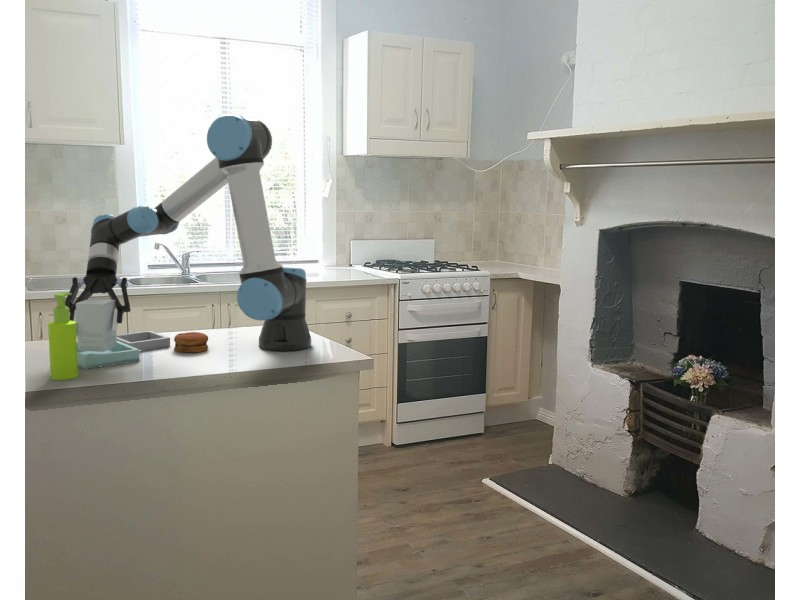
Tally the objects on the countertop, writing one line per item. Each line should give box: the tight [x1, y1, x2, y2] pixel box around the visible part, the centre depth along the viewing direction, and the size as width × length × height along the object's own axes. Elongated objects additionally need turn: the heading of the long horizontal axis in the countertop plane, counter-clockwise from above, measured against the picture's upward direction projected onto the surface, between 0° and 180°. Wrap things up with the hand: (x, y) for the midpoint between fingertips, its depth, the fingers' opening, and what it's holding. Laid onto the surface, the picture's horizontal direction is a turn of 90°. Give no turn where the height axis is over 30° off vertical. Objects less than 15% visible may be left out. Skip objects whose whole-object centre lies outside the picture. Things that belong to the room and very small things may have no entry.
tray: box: [77, 340, 141, 370], centre depth 189 cm, size 18×14×3 cm
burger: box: [173, 331, 209, 354], centre depth 202 cm, size 10×9×5 cm
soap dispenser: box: [47, 291, 79, 381], centre depth 170 cm, size 6×7×20 cm
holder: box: [116, 330, 171, 351], centre depth 204 cm, size 12×12×2 cm
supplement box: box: [76, 298, 117, 352], centre depth 188 cm, size 7×7×13 cm
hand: (94, 333), depth 185 cm, fingers closed on supplement box, 9 cm apart
